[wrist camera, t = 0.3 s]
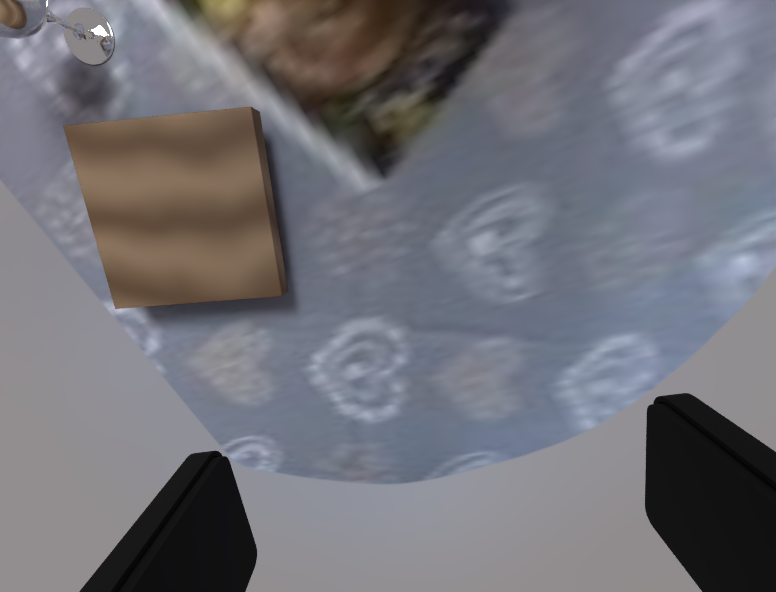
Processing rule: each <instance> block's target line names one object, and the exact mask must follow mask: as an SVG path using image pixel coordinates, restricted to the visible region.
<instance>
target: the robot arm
mask: <svg viewBox="0 0 776 592" xmlns="http://www.w3.org/2000/svg"><path fill="white" fill-rule="evenodd" d="M646 437H647V438H646V485H645V509H646V513H647V516H648V519H649V521H650V523H651V524H652V526H653V528H654V529H655V530H656V531H657V533H658V534H659V535H660V537H661V538H662V539H663V541H664V542H665V543H666V544H667V546H668V547H669V548H670V550H671V551H672V552H673V554H674V555H675V556H676V558H677V559H678V560H679V562H680V563H681V564H682V566H684V568H685V569H686V571H687V572H688V573H689V575H690V576H691V577H692V579H693V580H694V581H695V583H696V584H697V585H698V586H699V588H700V589H701V590H702V592H776V452H775V451H774V450H772V449H770V448H769V447H768V446H766V445H765V444H763V443H762V442H760V441H759V440H757V439H756V438H755V437H753V436H752V435H750V434H749V433H747V432H745V431H744V430H743V429H741V428H740V427H738V426H737V425H736V424H734V423H733V422H731V421H730V420H728V419H727V418H725V417H724V416H722V415H721V414H719V413H718V412H716V411H715V410H714V409H712V408H710V407H709V406H708V405H706V404H705V403H703V402H702V401H700V400H699V399H698V398H696V397H695V396H693V395H691V394H688V393H683V394H674V395H666V396H659V397H657V398H656V399H655V400H654V404H652V405H649V406H648V408H647V434H646ZM256 559H257V548H256V544H255V541H254V538H253V534H252V531H251V528H250V525H249V522H248V519H247V516H246V513H245V509H244V506H243V503H242V500H241V497H240V493H239V490H238V487H237V484H236V480H235V477H234V474H233V471H232V468H231V465H230V462H229V460H228V458H227V457H225V456H223V457H222V455H221V453H220V452H218V451H210V452H201V453H194V454H191V455H190V456H188V457H187V458H186V460H185V461H184V462H183V464H182V465H181V466H180V467H179V468H178V470H177V471H176V472H175V473H174V475H173V476H172V477H171V479H170V480H169V481H168V482H167V483H166V485H165V486H164V487H163V488H162V490H161V491H160V492H159V493H158V495H157V496H156V497H155V498H154V499H153V501H152V502H151V503H150V505H149V506H148V507H147V508H146V510H145V511H144V512H143V513H142V515H141V516H140V517H139V518H138V520H137V521H136V522H135V523H134V525H133V526H132V527H131V528H130V529H129V531H128V532H127V533H126V534H125V536H124V537H123V538H122V539H121V541H120V542H119V543H118V544H117V546H116V547H115V548H114V550H113V551H112V552H111V553H110V554H109V556H108V557H107V558H106V559H105V561H104V562H103V563H102V564H101V566H100V567H99V568H98V569H97V570H96V572H95V573H94V574H93V576H92V577H91V578H90V579H89V581H88V582H87V583H86V584H85V585H84V587H83V588H82V589H81V590H80V592H245V591H246V588H247V585H248V583H249V580H250V578H251V575H252V573H253V570H254V567H255V564H256Z"/></svg>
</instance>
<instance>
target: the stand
mask: <svg viewBox="0 0 776 592" xmlns="http://www.w3.org/2000/svg"><path fill="white" fill-rule="evenodd" d="M63 127H64V130H65V134H66V137H67V141H68V144H69V148H70V152H71V155H72V159H73V162H74V166H75V169H76V173H77V176H78V180H79V183H80V187H81V190H82V194H83V197H84V201H85V204H86V208H87V211H88V215H89V218H90V222H91V225H92V229H93V232H94V236H95V239H96V243H97V246H98V250H99V253H100V257H101V260H102V264H103V267H104V271H105V274H106V278H107V281H108V285H109V288H110V292H111V295H112V299H113V302H114V306H115V309H119V308H132V307H145V306H158V305H171V304H185V303H198V302H211V301H224V300H237V299H250V298H263V297H276V296H283V295H284V294H285V293H286V292H287V291H288V287H287V281H286V275H285V268H284V262H283V256H282V250H281V243H280V237H279V231H278V224H277V218H276V212H275V206H274V199H273V193H272V187H271V181H270V174H269V168H268V162H267V155H266V149H265V143H264V137H263V130H262V124H261V118H260V112H259V111H257V110H255V109H254V108H252V107H243V108H233V109H224V110H214V111H204V112H194V113H184V114H175V115H165V116H155V117H145V118H135V119H126V120H116V121H106V122H96V123H86V124H76V125H67V126H63Z"/></svg>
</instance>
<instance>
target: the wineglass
mask: <svg viewBox="0 0 776 592" xmlns="http://www.w3.org/2000/svg"><path fill="white" fill-rule="evenodd" d="M46 22H51V23H55V24H58V25H61V26H63V27H64V36H65V40H66V43H67V45H68V47H69V49H70V51H71V52H72V53H73V54H74V56H75V57H77V58H78V59H79V60H81V61H82V62H84V63H87V64H90V65H99V64H102V63H104V62H106V61H107V60H108V59H109V58H110V56H111V55H112V52H113V49H114V34H113V31H112V28H111V26H110V24H109V23H108V21H107V20H106V19H105V17H103V16H102V15H101V14H100V13H99V12H97V11H95V10H93V9H90V8H78V9H76V10H74V11H72V12H71V13H70V14H69V15H68V17H67V19H66V21H63V20H62V19H60V18H58V17H57V16H56V15H54V14H53V13H52V11H50V10H49V4H48V0H0V36H1V37H6V38H12V39H22V38H27V37H30V36H33V35H35V34H36V33H38V32H39V31H40V30H41V29H42V28H43V27H44V25H45V23H46Z"/></svg>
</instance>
